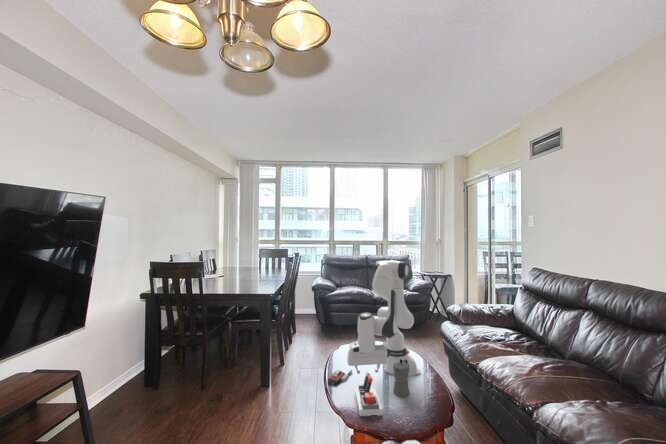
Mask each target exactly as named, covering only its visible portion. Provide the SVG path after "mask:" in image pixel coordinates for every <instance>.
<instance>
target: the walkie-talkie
mask: <svg viewBox="0 0 666 444" xmlns="http://www.w3.org/2000/svg"><path fill="white" fill-rule="evenodd" d="M352 372H353V370H352V369H351V370H350V371H349V372H348V373H347V374H346V373H345V372H344V371H342V370H339V369H338V370H336V371H334V372H333V373H332V374H331V375H330V376H329V377H327V384H330V385H334V386H338V385H339V384H340V383H343V382H345V381H347V380H348V379H349V376H350V374H352Z"/></svg>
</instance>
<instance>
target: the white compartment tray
mask: <svg viewBox="0 0 666 444" xmlns="http://www.w3.org/2000/svg"><path fill="white" fill-rule="evenodd" d="M362 388H363V384H361V385H358V388H354V395H355V401H356V405H357V409H358V413H359V414H358V415H359V417H366V416H367V417H369V416H370V417H371V415H377V416H383V407H382V404H381V402H380V399H379V396H378V394H377V391H376V388H373V387H372V388H371V387H370V391H369V393H372V392H373V395H374V404H365V395H364V393H365V389H362Z"/></svg>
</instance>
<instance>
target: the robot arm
mask: <svg viewBox="0 0 666 444" xmlns="http://www.w3.org/2000/svg"><path fill="white" fill-rule="evenodd" d="M372 268H373V274H374V276H373V279H372V291H373V292H374V293H375V294H376V295H377V296H378V297H380V298H382V299H384V300H385V301H387V306H381V307H380V308H378V310H377V313H376V314H377V315H373V313H371V312H362V313H360V314H359V315H358V317H357V334H358V336H357V340H356V341H354V342H351V343H350V344H349V346H348V347H349V349H348V351H347V357H346V358H347V361H346V362H347V365H348V366H349V367H354V368H355V370H356V374H358V375H360V374H361V369H360V368H358V366H371V365H376V367H374V372H375V374H376V373H377V374H378V373H379V369H380V367H381V365H384V368H383V370H384V371H385V372H387V373H388V374H390V375H394V368H393V363H395V362H400V359H402V360H405V359H406V360H407V362H408V364H409V367H410V368H409V375H408V377H409V376H415V375H420V374H421V369H420V367H419V366H418V364H417V362H416V360H415V359H414V358H413V357H412V356H411V355H410V351H409V349H408V348H406V347H405V337H404V333H402V331H400V329H405V330H407V329H411V328H412V327H413V325H414V323H415V318H414V315H413V313H412V312H411V311H410V310H409V308H408V306H407V305H406V302H405V295H404V291H405V290H404V288H405V287H404V285H405V284H404V279H406V278H407V276H408V275H409V265H408V264H407V262H405V261H402V260H400V261H397V260H394V259H393V260H377V261H375V262H374V264H373V267H372ZM399 328H400V329H399ZM375 335H376V336H379V337H383V338H386V345H384V344H376V338H375ZM402 362H403V361H402ZM394 376H395V375H394Z"/></svg>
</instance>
